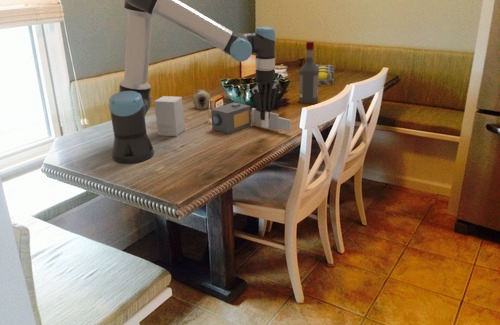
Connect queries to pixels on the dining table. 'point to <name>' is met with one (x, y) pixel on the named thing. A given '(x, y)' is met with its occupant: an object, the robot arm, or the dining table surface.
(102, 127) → the dining table surface
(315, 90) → the liquor
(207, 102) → the garlic bulb
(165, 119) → the supplement box
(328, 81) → the cage light
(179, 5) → the robot arm
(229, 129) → the camera case
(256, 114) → the side door
